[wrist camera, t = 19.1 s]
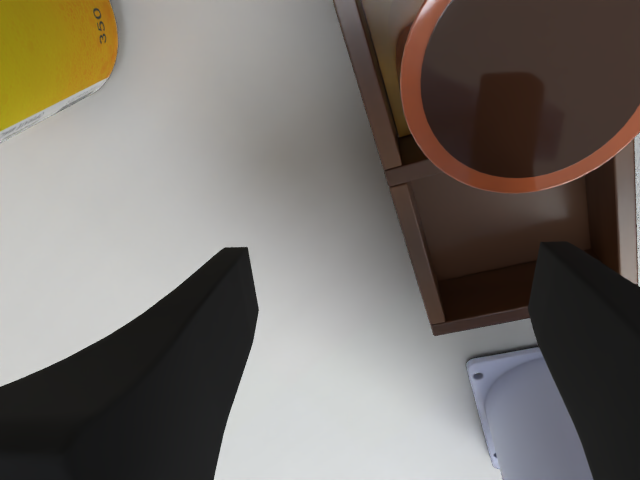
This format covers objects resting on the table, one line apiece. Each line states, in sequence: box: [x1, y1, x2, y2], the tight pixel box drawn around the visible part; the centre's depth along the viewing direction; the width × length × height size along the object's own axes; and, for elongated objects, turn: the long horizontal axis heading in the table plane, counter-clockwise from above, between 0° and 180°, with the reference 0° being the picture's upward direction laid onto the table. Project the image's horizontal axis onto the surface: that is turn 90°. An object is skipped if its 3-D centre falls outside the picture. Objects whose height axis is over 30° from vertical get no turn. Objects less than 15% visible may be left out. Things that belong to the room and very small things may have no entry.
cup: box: [388, 0, 640, 193], centre depth 14 cm, size 6×6×8 cm
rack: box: [333, 0, 638, 336], centre depth 18 cm, size 16×8×4 cm, turn 19°
